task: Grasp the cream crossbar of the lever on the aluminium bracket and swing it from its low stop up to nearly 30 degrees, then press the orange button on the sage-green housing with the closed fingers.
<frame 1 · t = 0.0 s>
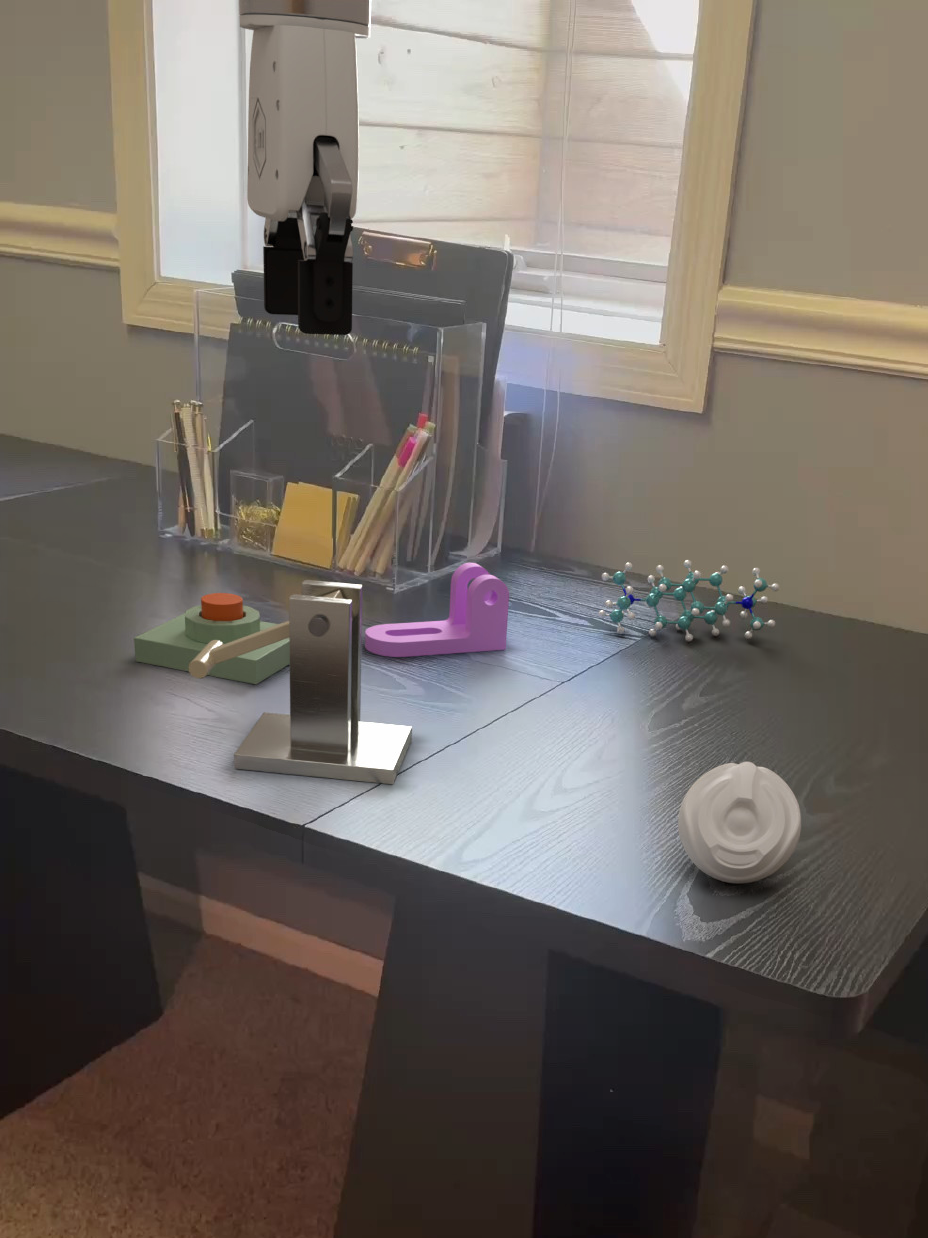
hand: (306, 323, 87), 31 cm above the table, tool pointing down, fingers open, 9 cm apart
bracket 2: (431, 646, 132), on the table
molecule model: (683, 637, 139), on the table
bracket: (325, 754, 106), on the table
button: (222, 608, 122), point 4 cm above the table, slide at 0.1 cm
motion sensor: (730, 878, 93), on the table
lever: (270, 635, 102), point 9 cm above the table, hinge at -25.0°
button box: (223, 657, 124), on the table
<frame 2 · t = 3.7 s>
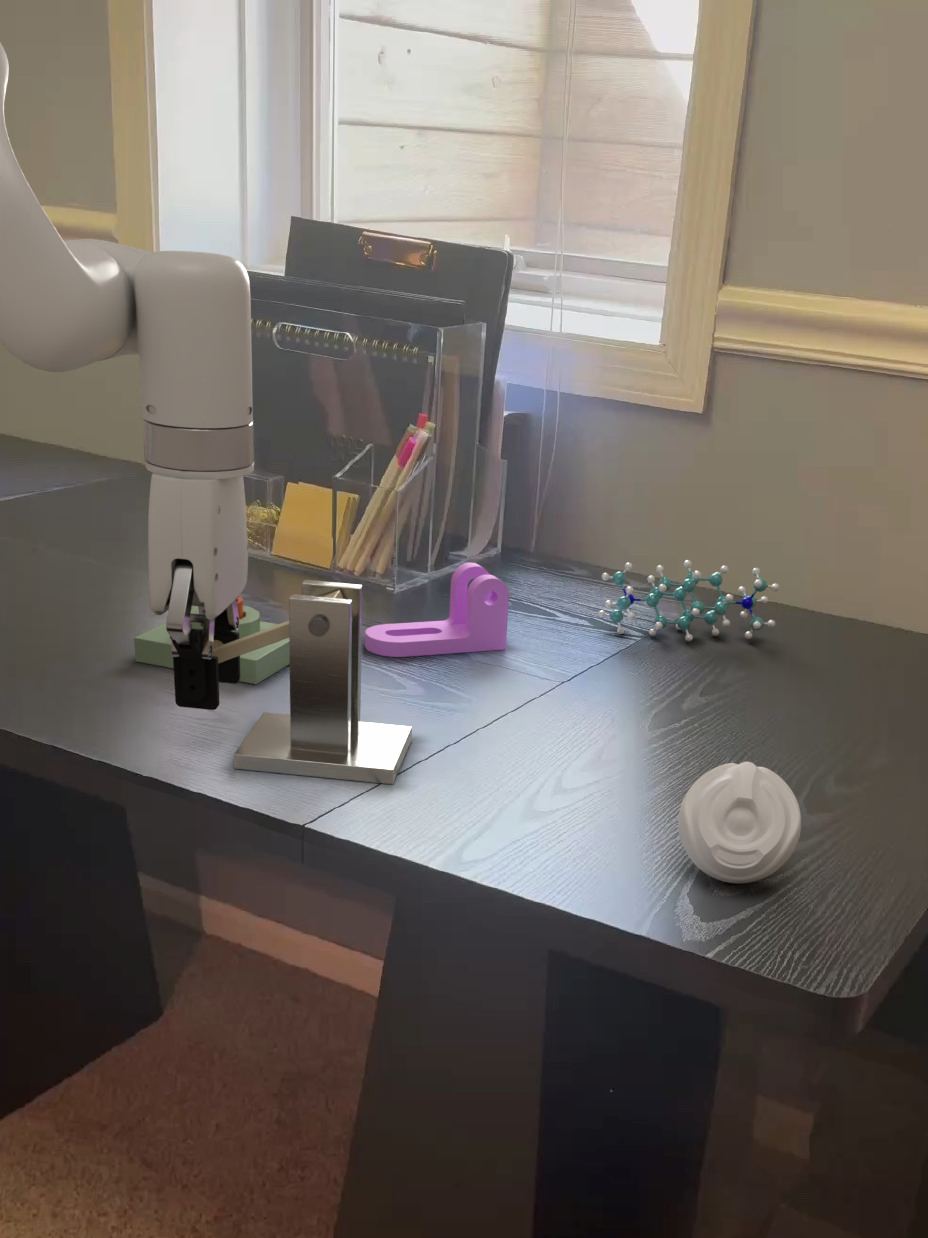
hand: (208, 691, 105), 4 cm above the table, tool pointing down, fingers closed on lever, 5 cm apart
lever: (270, 635, 102), point 9 cm above the table, hinge at -25.0°, touching gripper
everything else where it was.
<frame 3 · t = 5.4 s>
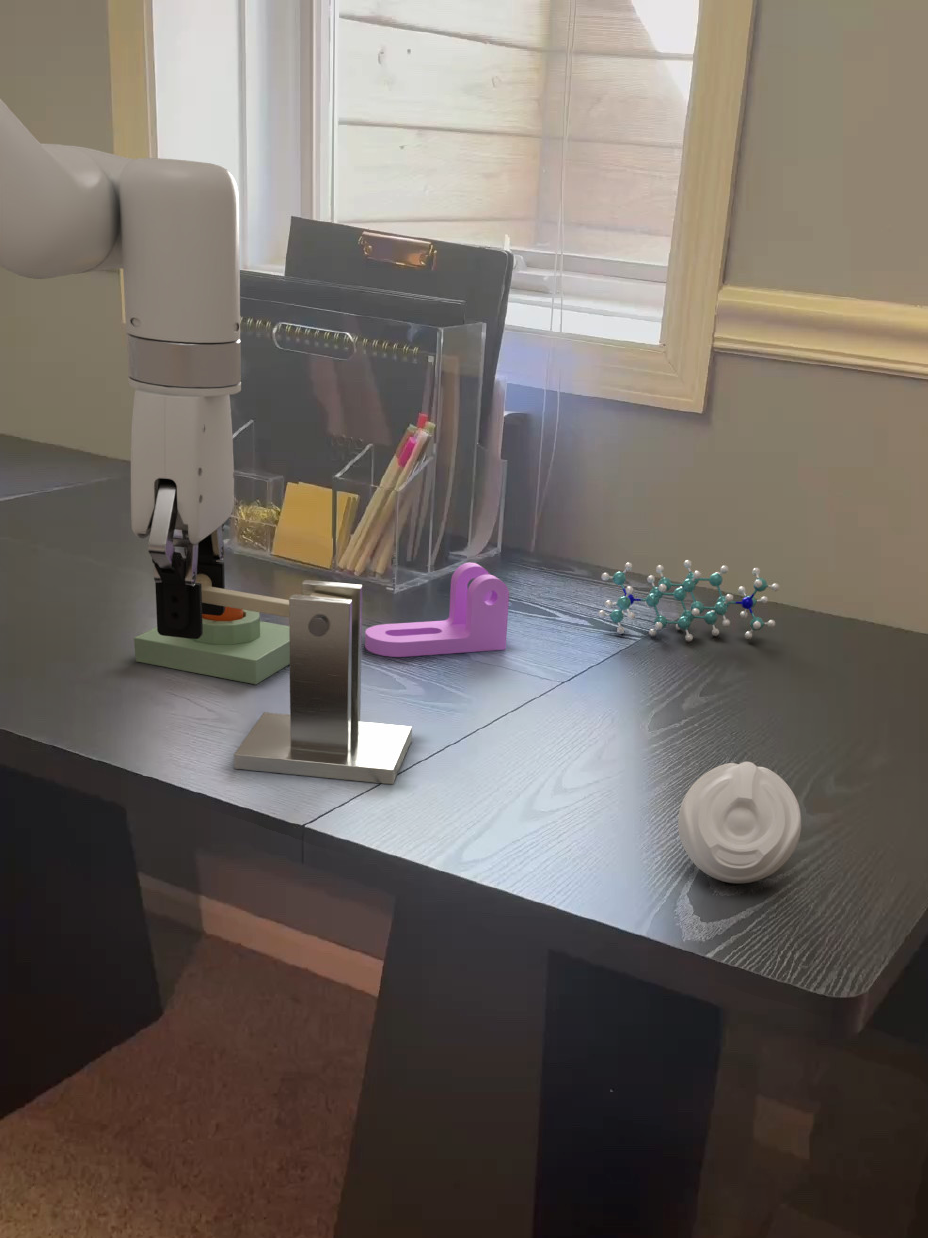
hand: (192, 621, 102), 10 cm above the table, tool pointing down, fingers closed on lever, 5 cm apart
lever: (264, 604, 101), point 11 cm above the table, hinge at 4.6°, touching gripper
everything else where it was.
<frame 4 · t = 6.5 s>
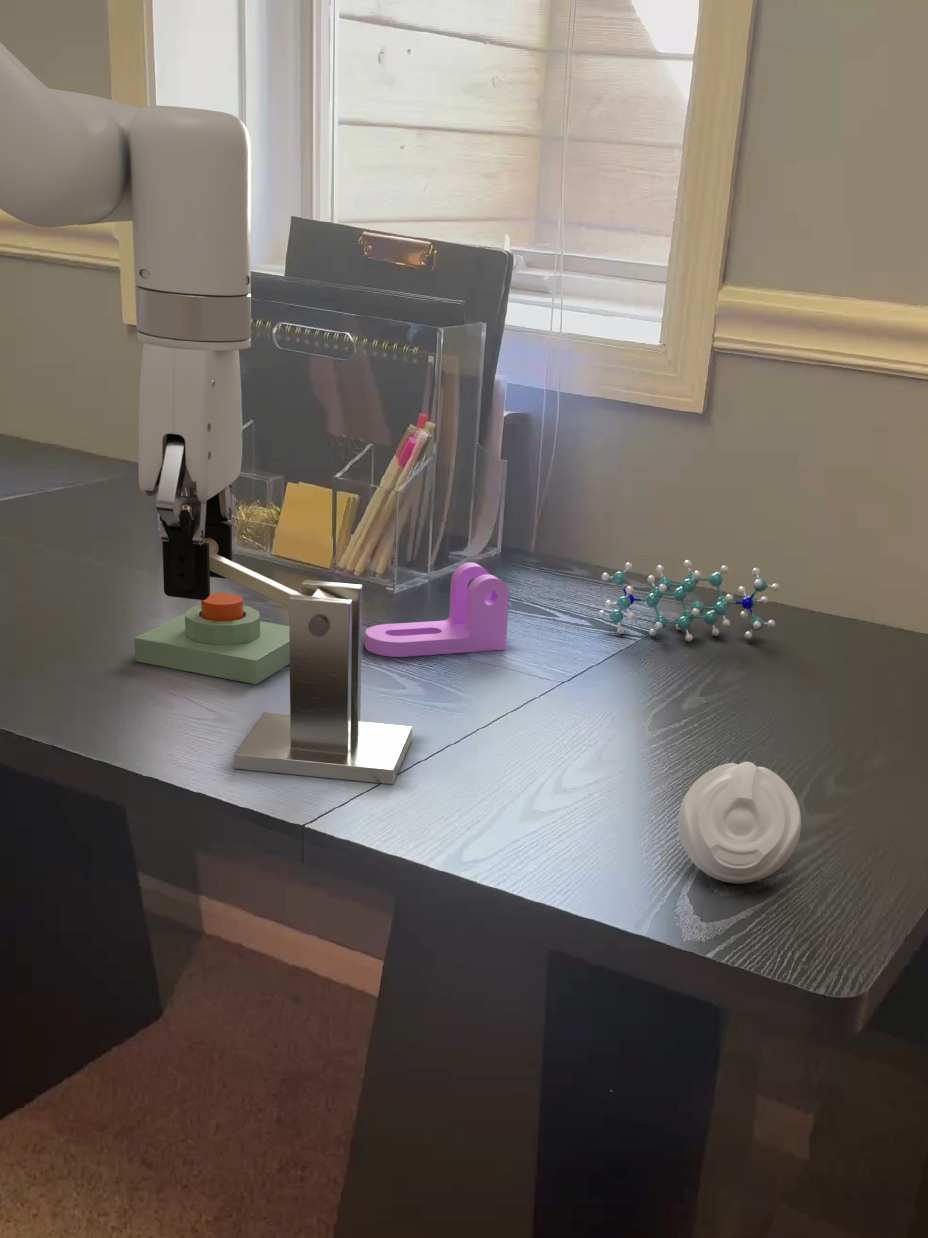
hand: (198, 583, 101), 12 cm above the table, tool pointing down, fingers closed on lever, 5 cm apart
lever: (267, 587, 100), point 13 cm above the table, hinge at 20.7°, touching gripper
everything else where it was.
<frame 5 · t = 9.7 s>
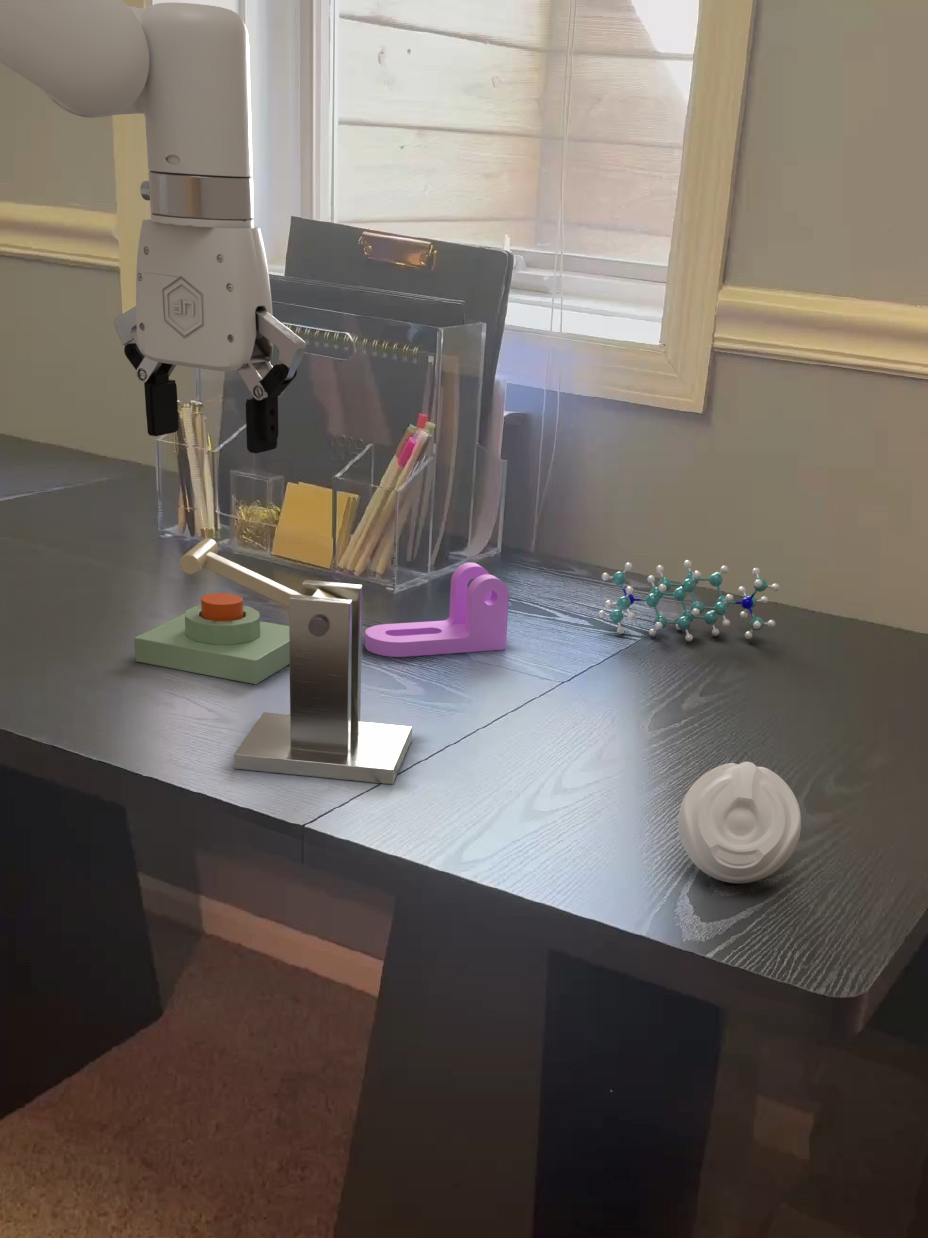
hand: (212, 442, 110), 20 cm above the table, tool pointing down, fingers open, 9 cm apart
lever: (267, 587, 100), point 13 cm above the table, hinge at 20.6°
everything else where it was.
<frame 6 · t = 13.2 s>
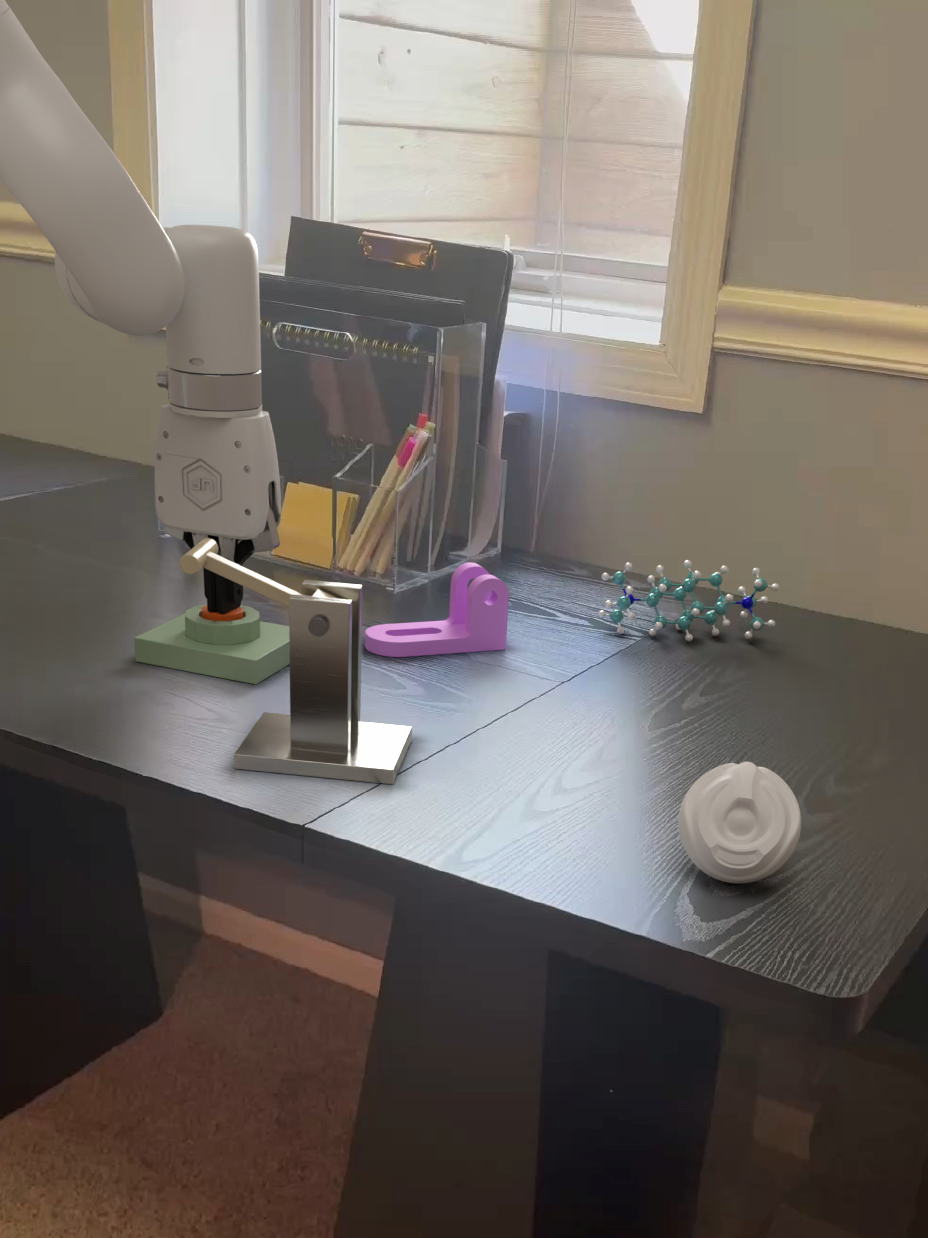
hand: (224, 608, 122), 4 cm above the table, tool pointing down, fingers closed
button: (222, 618, 123), point 4 cm above the table, slide at -0.8 cm, touching gripper
everything else where it was.
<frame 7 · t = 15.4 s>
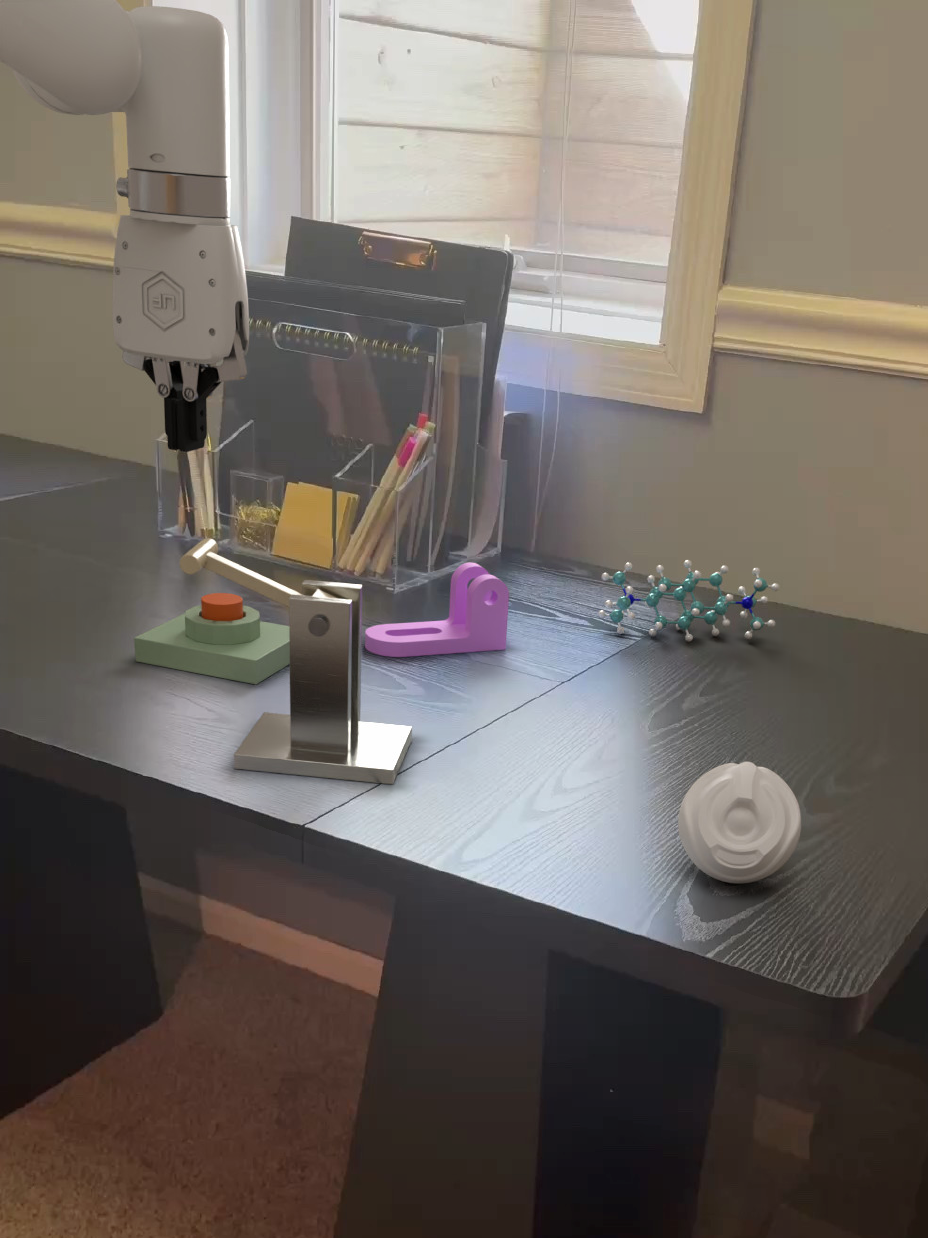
hand: (186, 448, 114), 19 cm above the table, tool pointing down, fingers closed
button: (222, 608, 122), point 4 cm above the table, slide at 0.1 cm
everything else where it was.
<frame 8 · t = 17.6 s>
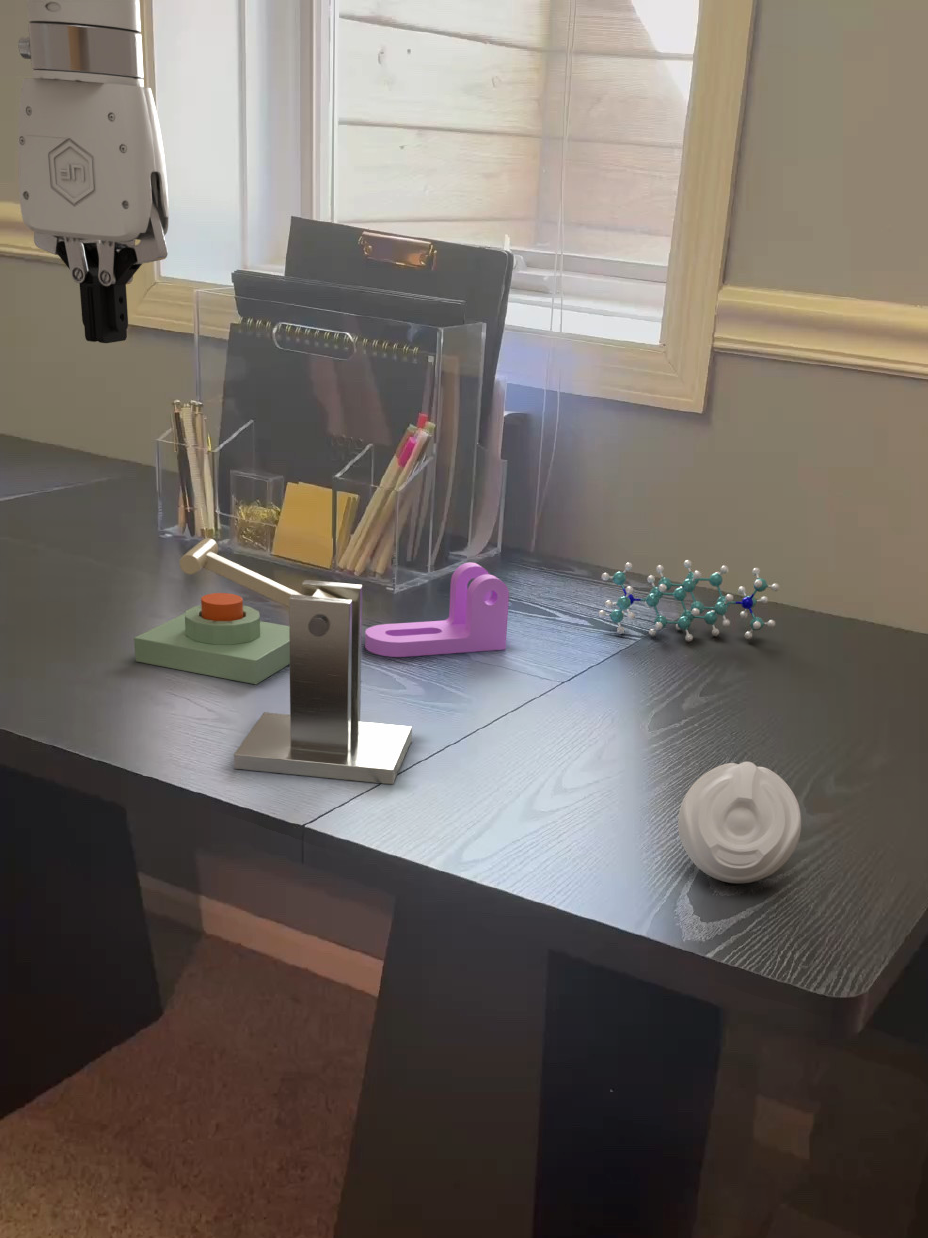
hand: (106, 340, 105), 27 cm above the table, tool pointing down, fingers closed
nothing on the table moved.
at the end: lever at +21° (first picture: -25°); button pushed in 1.1 cm at the most during the clip, back to where it started at the end; button slide at 0.1 cm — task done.
